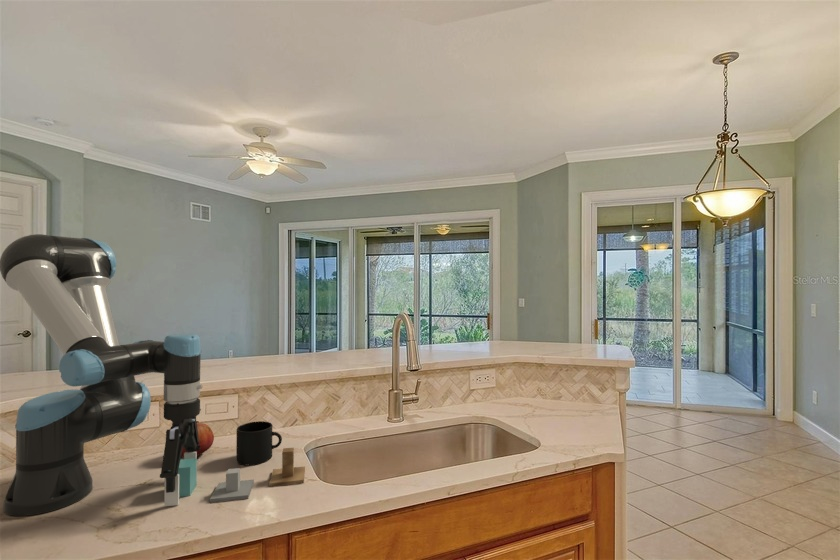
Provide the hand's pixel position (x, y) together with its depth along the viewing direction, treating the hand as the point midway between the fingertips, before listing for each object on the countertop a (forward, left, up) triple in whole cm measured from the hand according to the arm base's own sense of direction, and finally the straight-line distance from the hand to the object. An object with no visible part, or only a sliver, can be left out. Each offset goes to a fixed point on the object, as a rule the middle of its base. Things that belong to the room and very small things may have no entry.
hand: (181, 491), depth 99 cm
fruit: (-4, +22, 0) cm, 22 cm away
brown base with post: (+24, +2, 0) cm, 24 cm away
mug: (+15, +17, 0) cm, 22 cm away
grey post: (+12, -3, 0) cm, 12 cm away
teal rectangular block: (0, 0, 0) cm, 0 cm away
